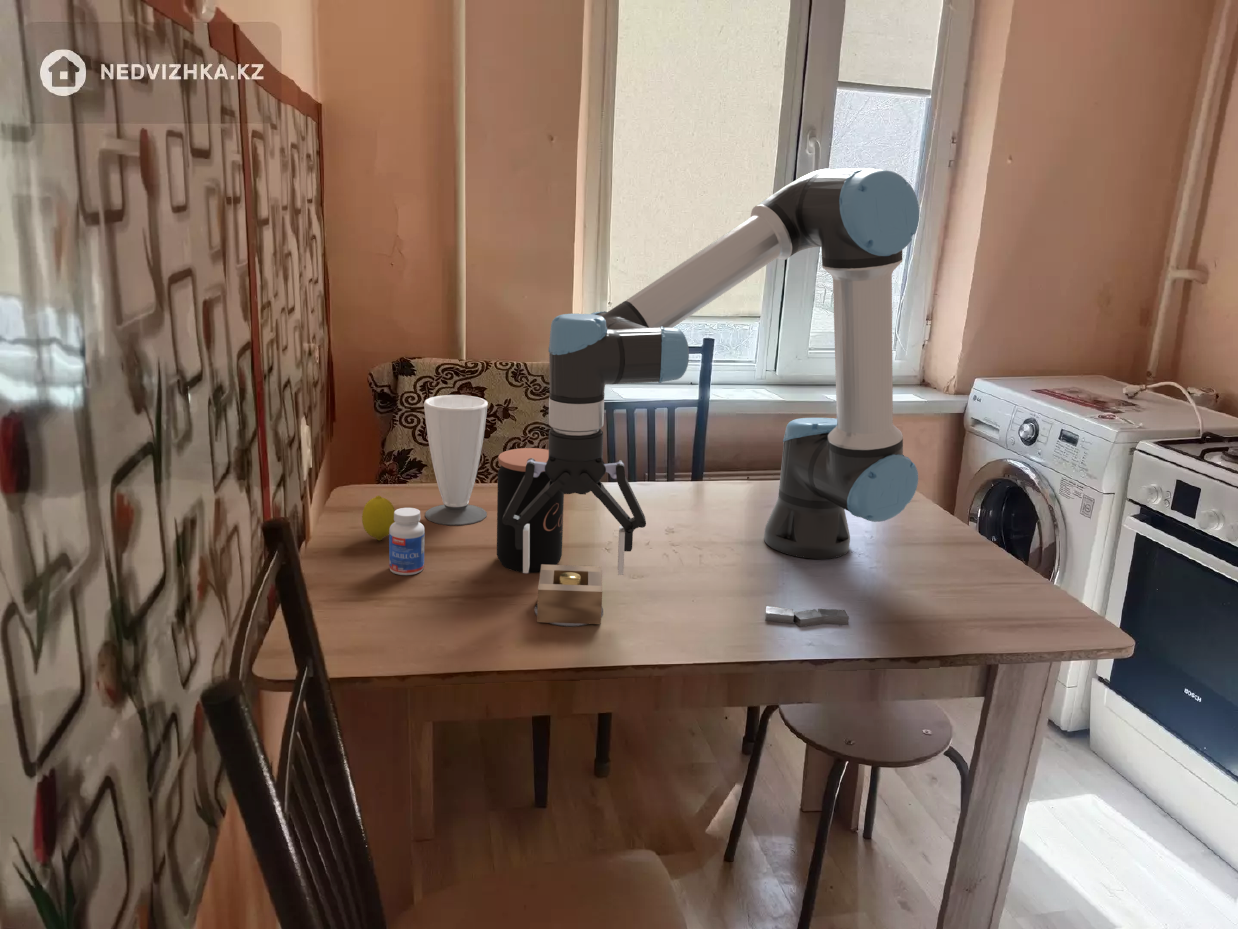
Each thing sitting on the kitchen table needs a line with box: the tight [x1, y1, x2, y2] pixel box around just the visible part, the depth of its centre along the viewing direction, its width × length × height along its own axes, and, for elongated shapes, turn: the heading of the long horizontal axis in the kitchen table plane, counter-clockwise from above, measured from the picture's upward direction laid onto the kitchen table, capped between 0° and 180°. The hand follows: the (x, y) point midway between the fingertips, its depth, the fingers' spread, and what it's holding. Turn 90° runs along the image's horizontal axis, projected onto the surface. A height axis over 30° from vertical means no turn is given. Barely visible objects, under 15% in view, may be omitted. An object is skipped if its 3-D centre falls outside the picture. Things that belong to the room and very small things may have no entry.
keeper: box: [534, 572, 604, 628], centre depth 133 cm, size 10×10×6 cm
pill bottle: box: [388, 507, 426, 576], centre depth 144 cm, size 6×5×10 cm
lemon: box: [361, 495, 395, 541], centre depth 155 cm, size 6×6×8 cm
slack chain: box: [764, 605, 850, 628], centre depth 134 cm, size 12×4×1 cm, turn 92°
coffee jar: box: [496, 447, 565, 574], centre depth 148 cm, size 11×11×18 cm
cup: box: [423, 394, 489, 526], centre depth 167 cm, size 12×12×22 cm
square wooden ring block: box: [536, 564, 603, 625], centre depth 133 cm, size 9×9×5 cm
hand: (573, 570), depth 132 cm, fingers open, 13 cm apart
